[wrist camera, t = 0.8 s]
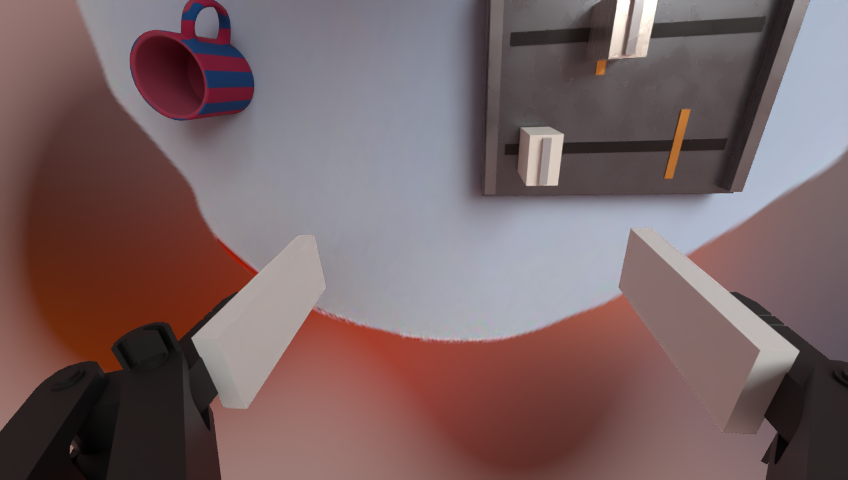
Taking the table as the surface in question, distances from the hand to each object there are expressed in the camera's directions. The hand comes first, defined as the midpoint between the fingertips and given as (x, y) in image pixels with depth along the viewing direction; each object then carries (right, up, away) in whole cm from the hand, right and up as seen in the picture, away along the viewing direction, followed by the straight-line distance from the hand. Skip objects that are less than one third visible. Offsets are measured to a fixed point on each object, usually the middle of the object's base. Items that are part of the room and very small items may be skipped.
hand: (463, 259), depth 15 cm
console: (+15, +14, +16) cm, 27 cm away
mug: (-21, +18, +19) cm, 34 cm away
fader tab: (+8, +9, +17) cm, 21 cm away
